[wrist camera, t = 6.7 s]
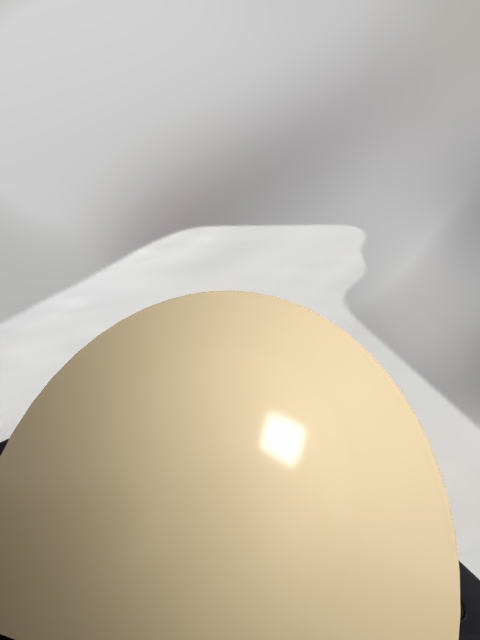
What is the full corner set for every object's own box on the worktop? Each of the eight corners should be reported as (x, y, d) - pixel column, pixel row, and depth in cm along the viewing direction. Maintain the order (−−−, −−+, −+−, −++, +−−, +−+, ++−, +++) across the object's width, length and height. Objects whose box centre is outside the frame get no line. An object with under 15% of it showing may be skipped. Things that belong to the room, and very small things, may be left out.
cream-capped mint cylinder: (208, 525, 12) (291, 1391, 1) (139, 448, 13) (-166, 527, 2) (271, 438, 14) (505, 459, 3) (208, 377, 15) (229, 238, 4)
